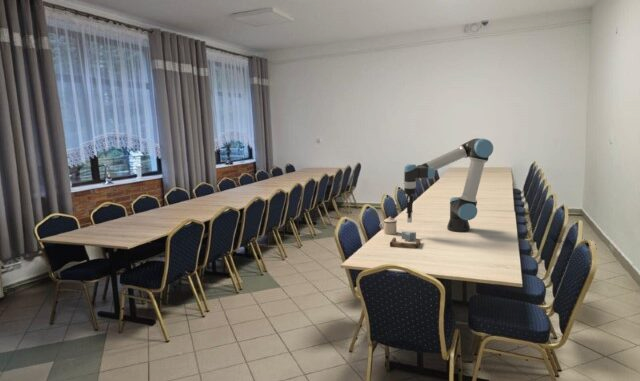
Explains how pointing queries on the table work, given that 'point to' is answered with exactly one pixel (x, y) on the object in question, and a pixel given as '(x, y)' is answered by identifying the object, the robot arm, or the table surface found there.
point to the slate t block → (408, 235)
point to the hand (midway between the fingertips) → (409, 222)
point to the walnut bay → (404, 244)
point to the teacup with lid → (389, 226)
